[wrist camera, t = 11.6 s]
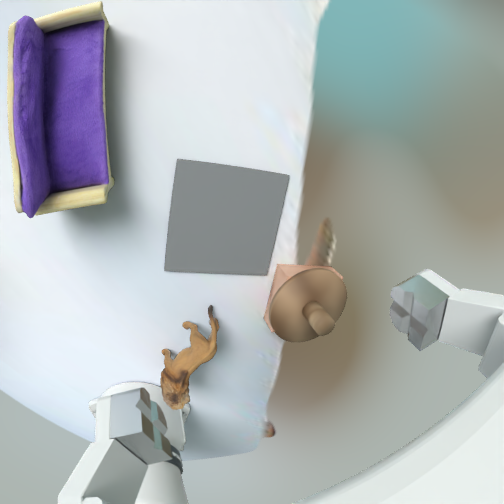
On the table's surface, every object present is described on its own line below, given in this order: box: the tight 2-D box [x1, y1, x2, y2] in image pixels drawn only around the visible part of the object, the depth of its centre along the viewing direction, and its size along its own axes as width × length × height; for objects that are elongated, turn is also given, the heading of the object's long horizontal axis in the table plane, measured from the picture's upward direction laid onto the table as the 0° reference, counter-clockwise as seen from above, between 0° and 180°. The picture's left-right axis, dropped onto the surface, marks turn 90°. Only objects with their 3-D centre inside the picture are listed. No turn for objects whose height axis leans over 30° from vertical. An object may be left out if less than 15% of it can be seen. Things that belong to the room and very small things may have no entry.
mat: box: [164, 159, 289, 275], centre depth 37 cm, size 14×14×1 cm
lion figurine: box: [161, 305, 219, 410], centre depth 39 cm, size 15×5×9 cm, turn 145°
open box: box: [264, 264, 343, 332], centre depth 44 cm, size 9×9×4 cm
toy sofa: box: [7, 2, 114, 218], centre depth 22 cm, size 21×9×10 cm, turn 0°
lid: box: [269, 268, 347, 342], centre depth 40 cm, size 12×12×5 cm
